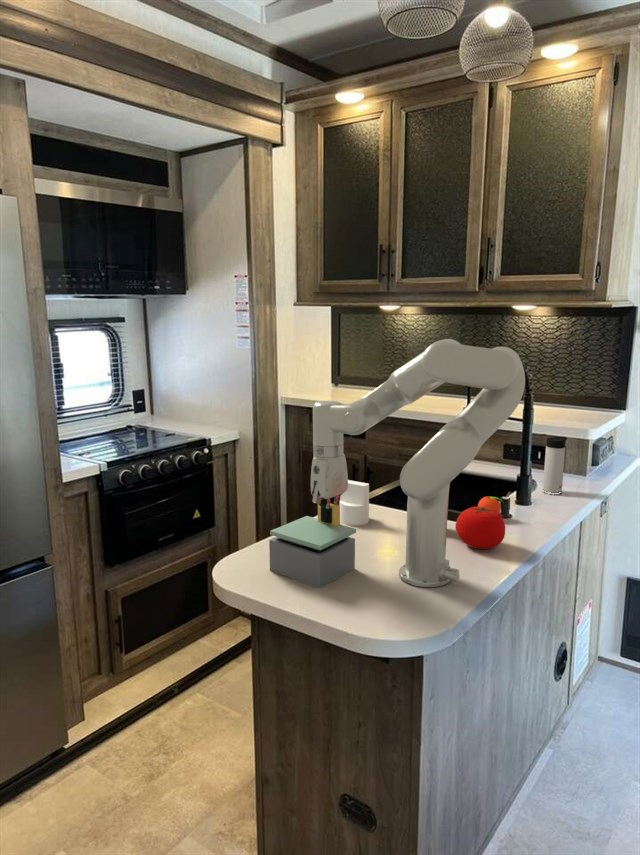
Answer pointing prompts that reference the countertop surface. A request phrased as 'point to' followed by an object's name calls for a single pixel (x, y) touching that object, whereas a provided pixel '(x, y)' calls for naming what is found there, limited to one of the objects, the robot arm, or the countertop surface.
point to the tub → (312, 560)
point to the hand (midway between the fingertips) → (328, 520)
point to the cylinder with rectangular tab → (355, 504)
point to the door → (315, 530)
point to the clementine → (490, 503)
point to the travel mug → (554, 464)
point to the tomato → (480, 527)
